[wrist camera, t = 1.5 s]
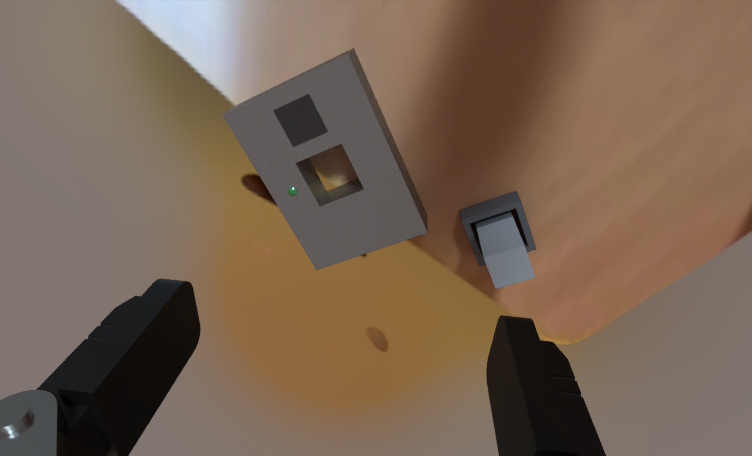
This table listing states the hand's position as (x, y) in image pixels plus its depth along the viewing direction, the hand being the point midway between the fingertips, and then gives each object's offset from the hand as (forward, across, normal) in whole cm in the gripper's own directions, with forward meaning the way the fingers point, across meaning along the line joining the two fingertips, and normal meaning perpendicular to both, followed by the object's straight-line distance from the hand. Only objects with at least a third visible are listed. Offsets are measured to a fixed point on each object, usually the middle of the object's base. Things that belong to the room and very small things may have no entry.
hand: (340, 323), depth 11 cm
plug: (+36, -12, +16) cm, 42 cm away
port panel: (+36, +6, +10) cm, 38 cm away
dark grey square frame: (+36, -12, +16) cm, 42 cm away
